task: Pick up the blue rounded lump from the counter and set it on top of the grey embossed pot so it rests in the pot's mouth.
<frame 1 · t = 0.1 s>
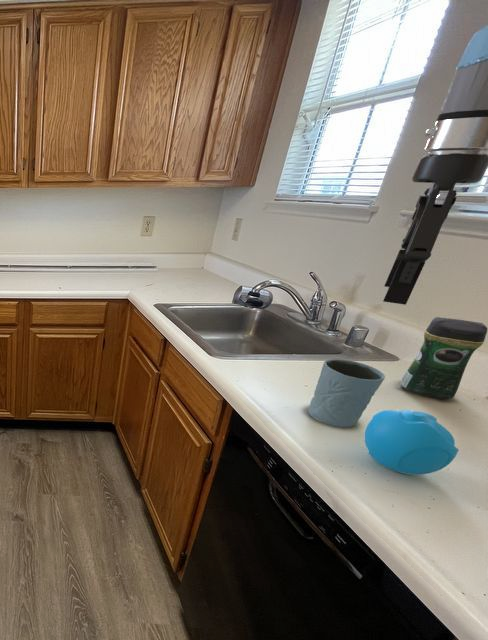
hand: (394, 294, 71), 30 cm above the countertop, tool pointing down, fingers open, 13 cm apart
blue rounded lump: (392, 467, 77), on the countertop
coffee jar: (423, 392, 104), on the countertop
grey embossed pot: (332, 418, 92), on the countertop
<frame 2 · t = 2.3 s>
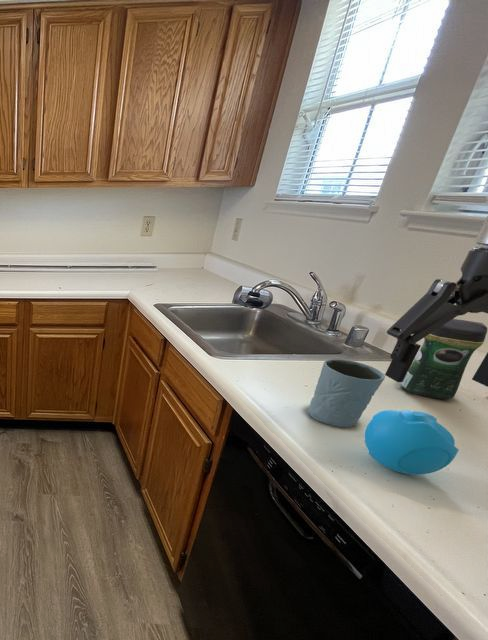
hand: (437, 381, 69), 18 cm above the countertop, tool pointing down, fingers open, 13 cm apart
nothing on the countertop moved.
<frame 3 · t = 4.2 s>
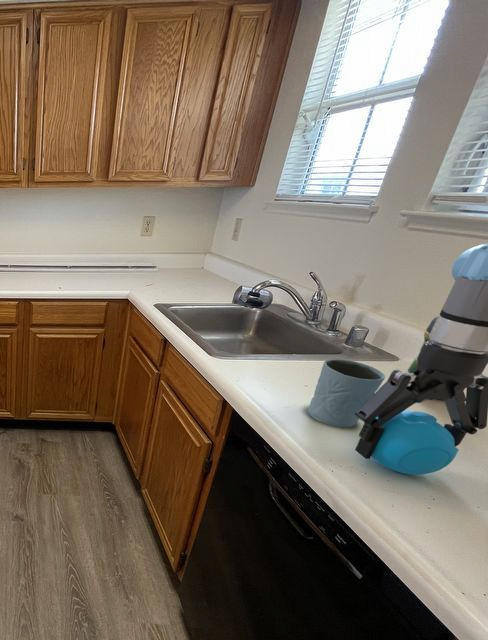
hand: (399, 456, 75), 2 cm above the countertop, tool pointing down, fingers closed on blue rounded lump, 12 cm apart
blue rounded lump: (392, 467, 77), on the countertop, touching gripper
everything else where it was.
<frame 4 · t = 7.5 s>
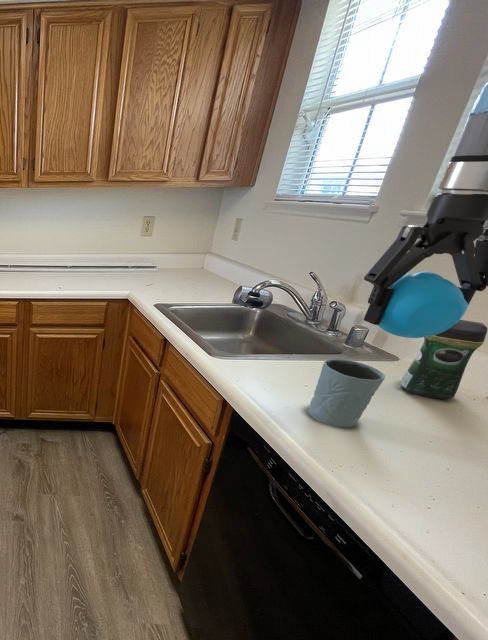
hand: (407, 323, 75), 24 cm above the countertop, tool pointing down, fingers closed on blue rounded lump, 12 cm apart
blue rounded lump: (400, 337, 76), point 22 cm above the countertop, touching gripper
everything else where it was.
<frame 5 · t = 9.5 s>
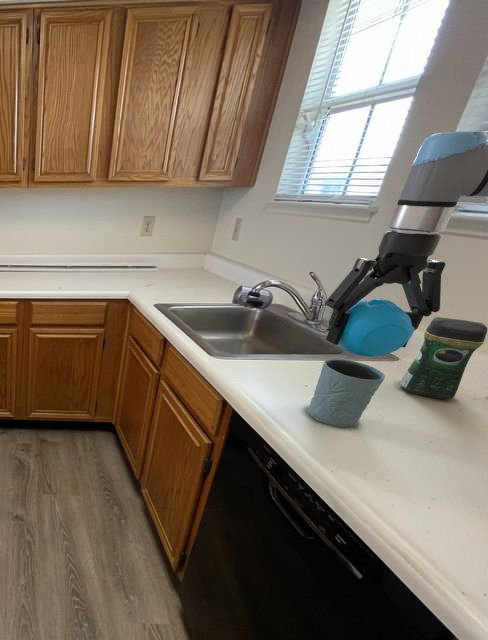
hand: (364, 343, 84), 18 cm above the countertop, tool pointing down, fingers closed on blue rounded lump, 12 cm apart
blue rounded lump: (358, 355, 85), point 15 cm above the countertop, touching gripper
everything else where it was.
when the fingers open (14 cm above the countertop, at t = 11.0 s): blue rounded lump stays where it is, resting on grey embossed pot.
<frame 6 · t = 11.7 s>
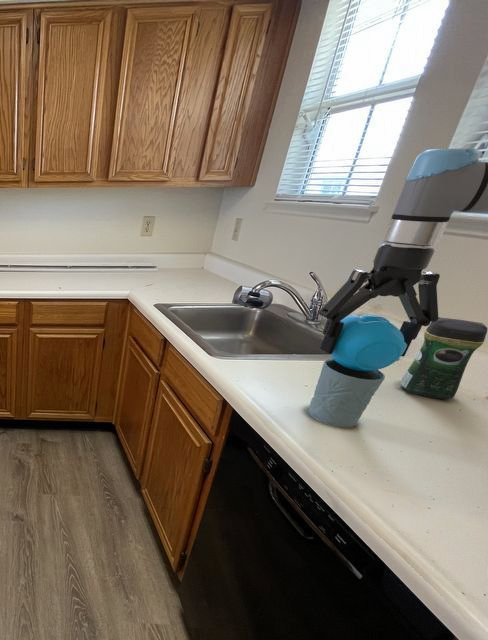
hand: (361, 352, 85), 16 cm above the countertop, tool pointing down, fingers open, 13 cm apart
blue rounded lump: (352, 369, 87), point 12 cm above the countertop, touching grey embossed pot
grey embossed pot: (332, 418, 92), on the countertop, touching blue rounded lump
everything else where it was.
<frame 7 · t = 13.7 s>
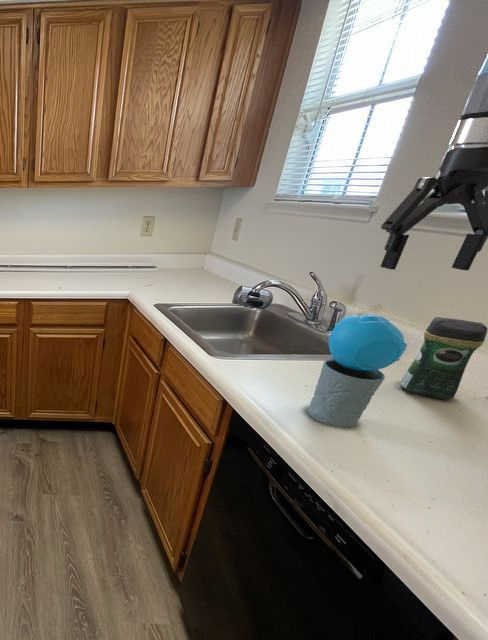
hand: (423, 268, 83), 32 cm above the countertop, tool pointing down, fingers open, 13 cm apart
nothing on the countertop moved.
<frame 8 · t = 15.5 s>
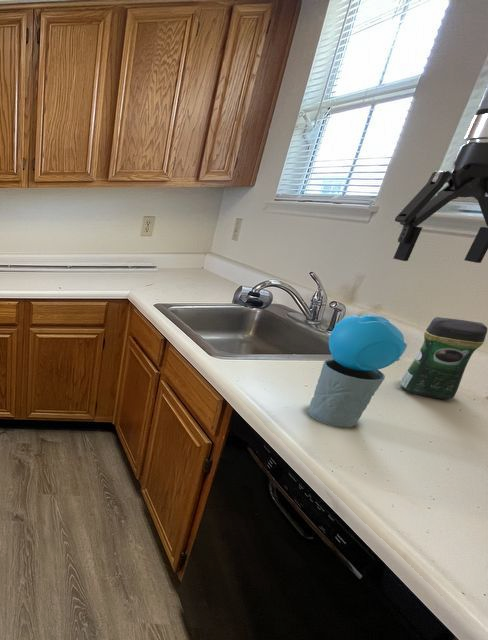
hand: (435, 260, 85), 33 cm above the countertop, tool pointing down, fingers open, 13 cm apart
nothing on the countertop moved.
at the end: blue rounded lump 0.2 cm off-centre on the grey embossed pot, point 12.0 cm above the grey embossed pot's base; blue rounded lump touching grey embossed pot; grey embossed pot tilted 0° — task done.
